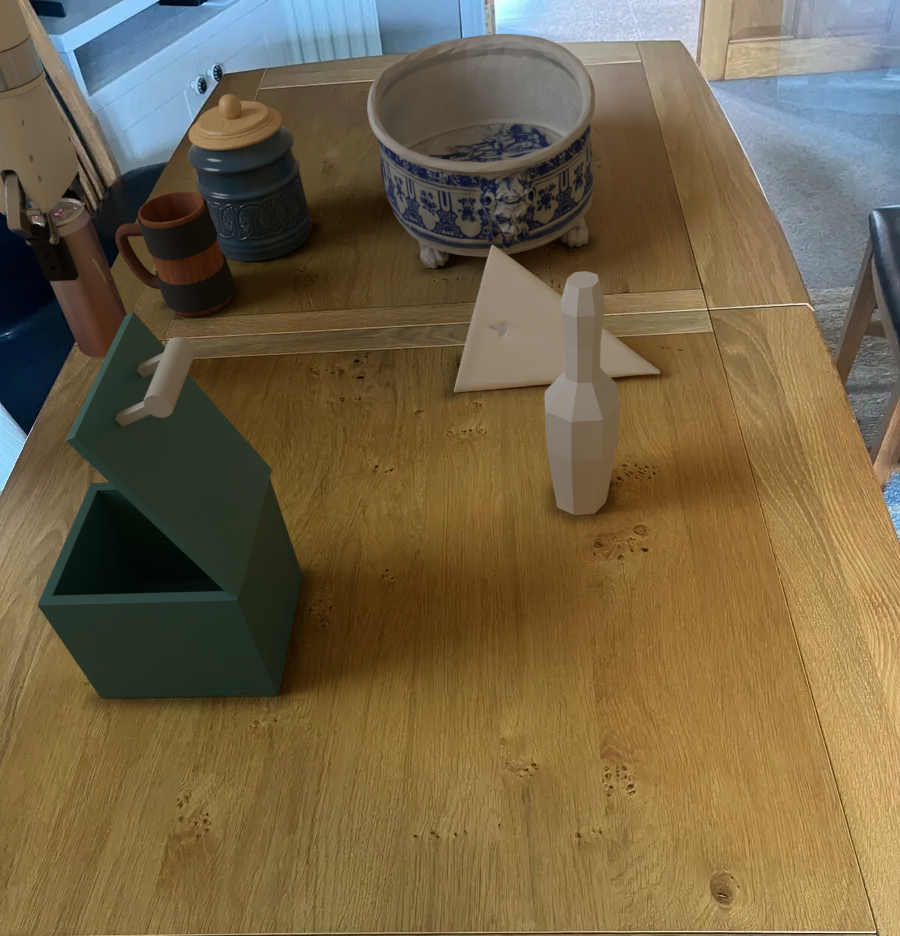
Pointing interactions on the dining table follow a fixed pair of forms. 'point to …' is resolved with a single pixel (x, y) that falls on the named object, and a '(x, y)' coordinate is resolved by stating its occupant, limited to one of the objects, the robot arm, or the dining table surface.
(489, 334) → the drafting triangle
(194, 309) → the mug
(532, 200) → the decorative bowl
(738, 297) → the dining table surface
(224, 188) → the canister
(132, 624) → the cool box
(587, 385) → the low poly bottle
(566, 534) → the dining table surface
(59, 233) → the beverage can
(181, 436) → the cool box lid
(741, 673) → the dining table surface
